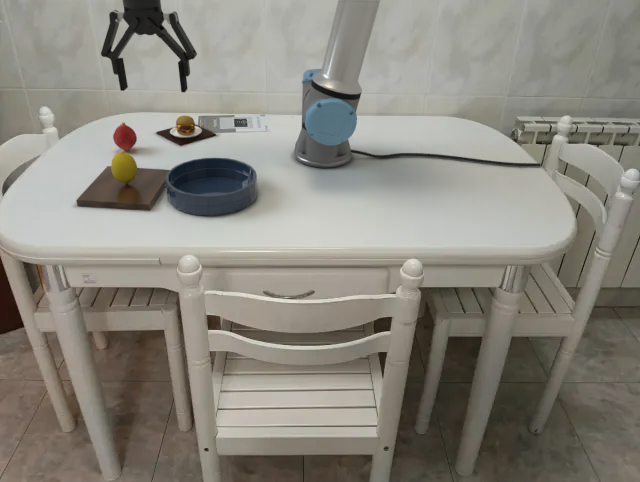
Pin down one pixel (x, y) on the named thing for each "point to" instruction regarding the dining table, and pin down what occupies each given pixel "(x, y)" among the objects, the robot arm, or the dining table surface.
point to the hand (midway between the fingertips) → (154, 90)
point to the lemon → (124, 167)
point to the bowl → (211, 186)
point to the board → (125, 190)
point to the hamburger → (185, 132)
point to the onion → (124, 137)
